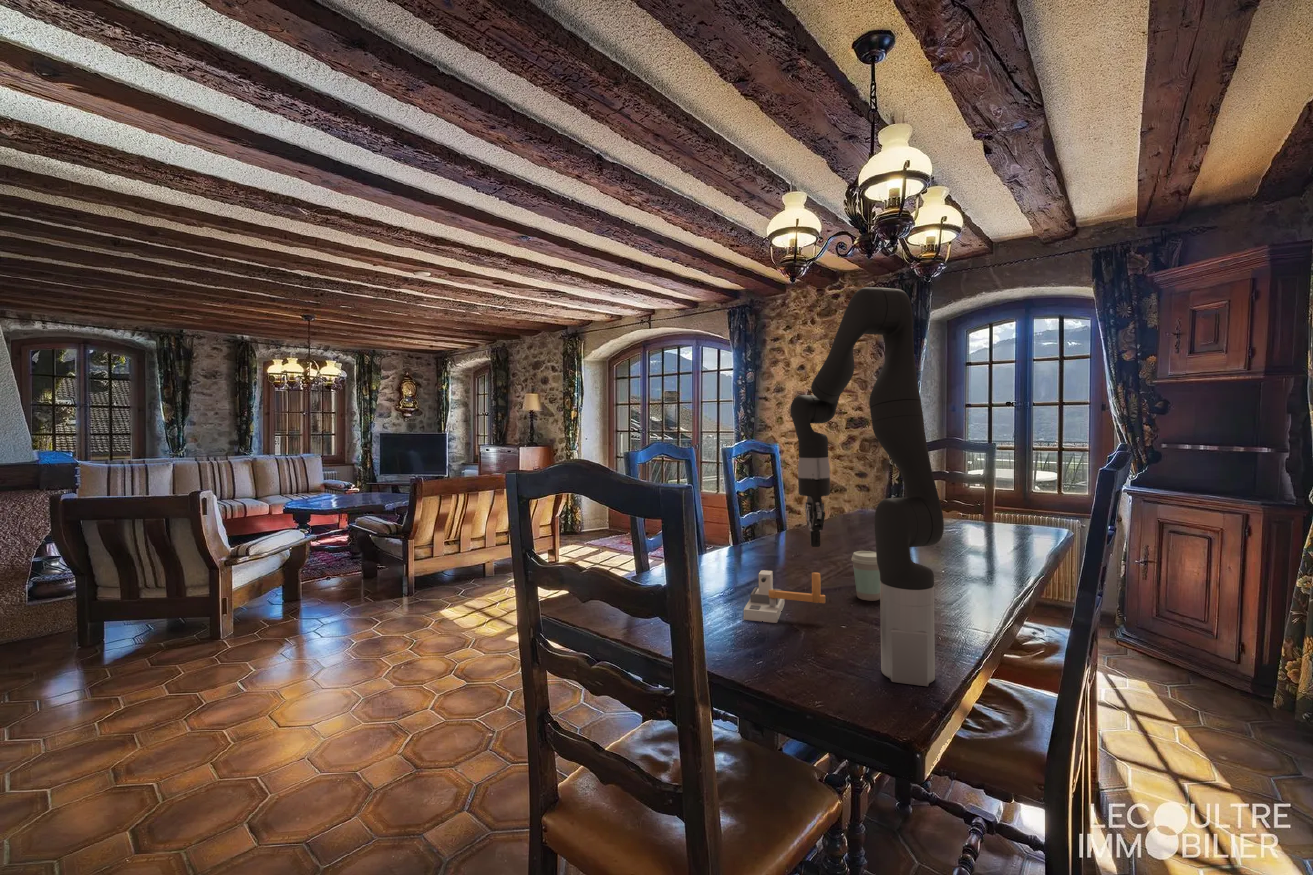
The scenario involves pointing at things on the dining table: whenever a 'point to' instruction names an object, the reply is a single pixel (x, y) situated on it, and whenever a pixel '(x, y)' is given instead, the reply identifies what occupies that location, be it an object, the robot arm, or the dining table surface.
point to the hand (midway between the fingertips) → (815, 546)
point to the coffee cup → (866, 575)
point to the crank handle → (813, 597)
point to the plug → (765, 582)
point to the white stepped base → (763, 607)
